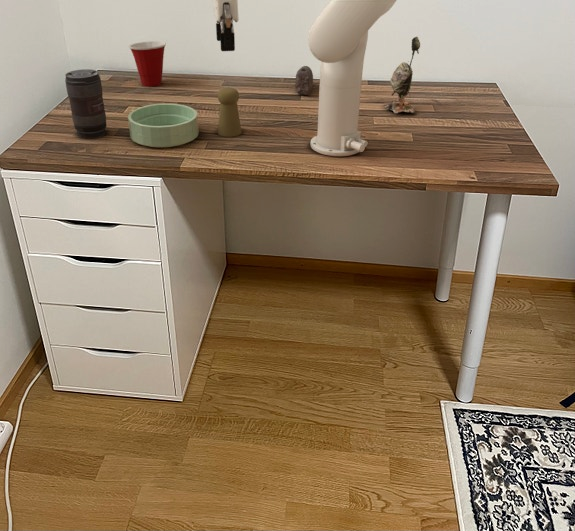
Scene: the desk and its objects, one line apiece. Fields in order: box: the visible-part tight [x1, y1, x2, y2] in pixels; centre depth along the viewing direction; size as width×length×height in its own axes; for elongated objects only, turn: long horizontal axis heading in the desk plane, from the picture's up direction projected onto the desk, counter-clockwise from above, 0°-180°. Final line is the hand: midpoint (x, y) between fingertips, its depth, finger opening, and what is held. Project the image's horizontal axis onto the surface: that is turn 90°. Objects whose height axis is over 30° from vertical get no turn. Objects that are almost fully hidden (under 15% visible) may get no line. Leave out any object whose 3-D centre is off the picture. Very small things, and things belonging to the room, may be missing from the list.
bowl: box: [127, 103, 200, 148], centre depth 153 cm, size 17×17×6 cm
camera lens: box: [64, 68, 107, 140], centre depth 151 cm, size 8×8×15 cm
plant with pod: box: [383, 36, 421, 114], centre depth 168 cm, size 8×11×20 cm
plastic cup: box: [128, 40, 167, 88], centre depth 186 cm, size 11×11×12 cm
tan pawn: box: [217, 87, 242, 138], centre depth 154 cm, size 6×6×11 cm
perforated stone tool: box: [294, 65, 314, 96], centre depth 185 cm, size 15×5×7 cm, turn 174°
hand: (225, 45), depth 148 cm, fingers open, 9 cm apart
